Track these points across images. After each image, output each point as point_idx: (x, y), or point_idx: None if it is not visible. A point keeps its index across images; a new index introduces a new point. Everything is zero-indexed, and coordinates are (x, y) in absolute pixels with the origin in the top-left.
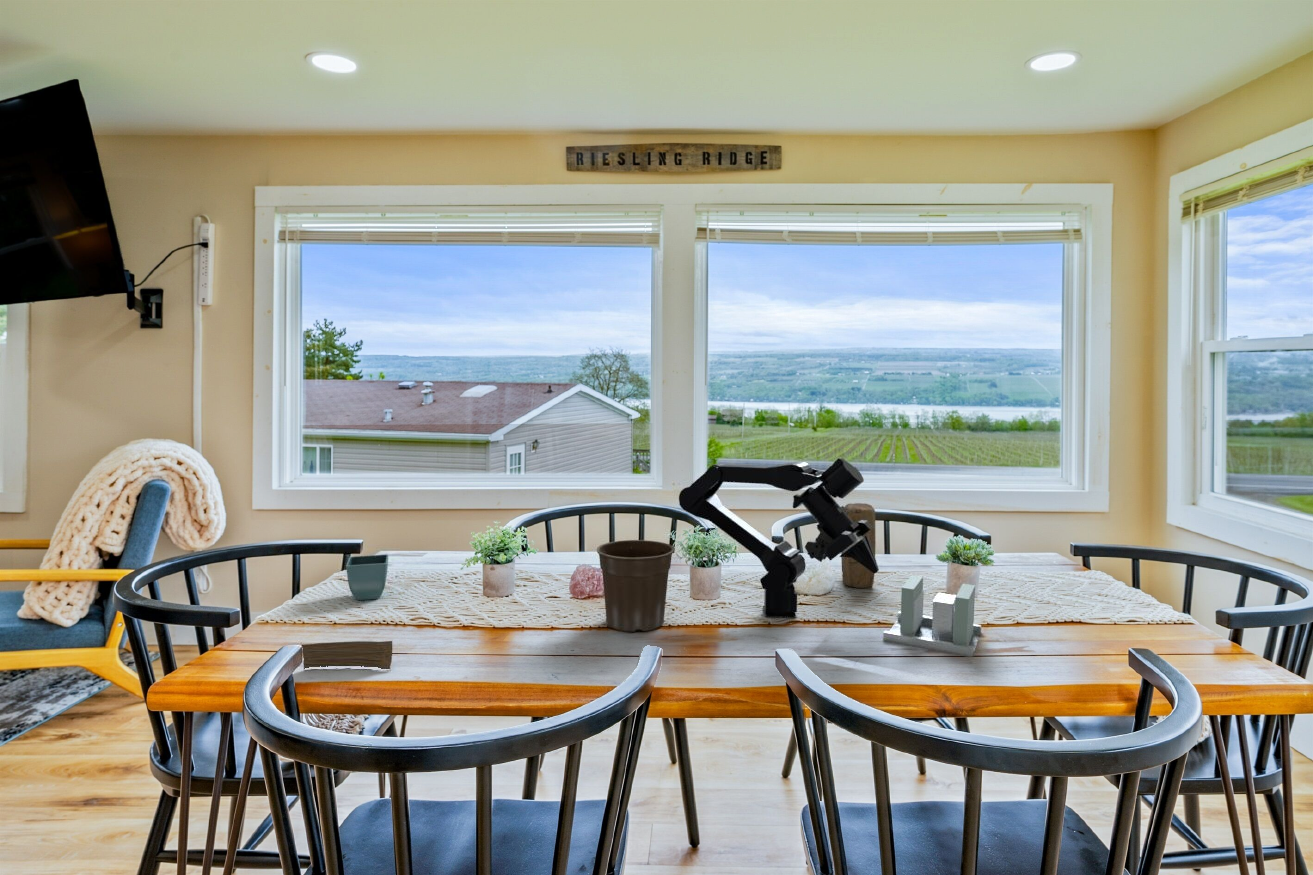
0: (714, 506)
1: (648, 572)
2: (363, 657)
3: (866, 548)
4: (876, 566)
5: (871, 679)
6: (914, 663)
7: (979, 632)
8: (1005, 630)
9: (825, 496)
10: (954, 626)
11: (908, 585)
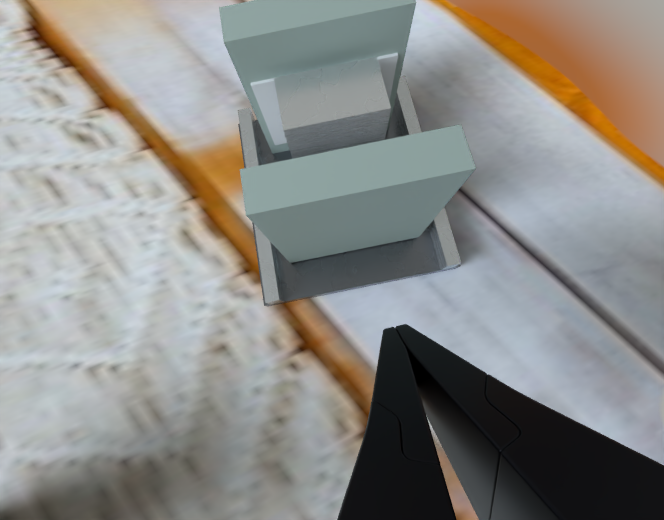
0: None
1: None
2: None
3: (583, 430)
4: (414, 334)
5: (653, 203)
6: (498, 174)
7: (254, 120)
8: (170, 109)
9: None
10: (397, 88)
11: (421, 161)
